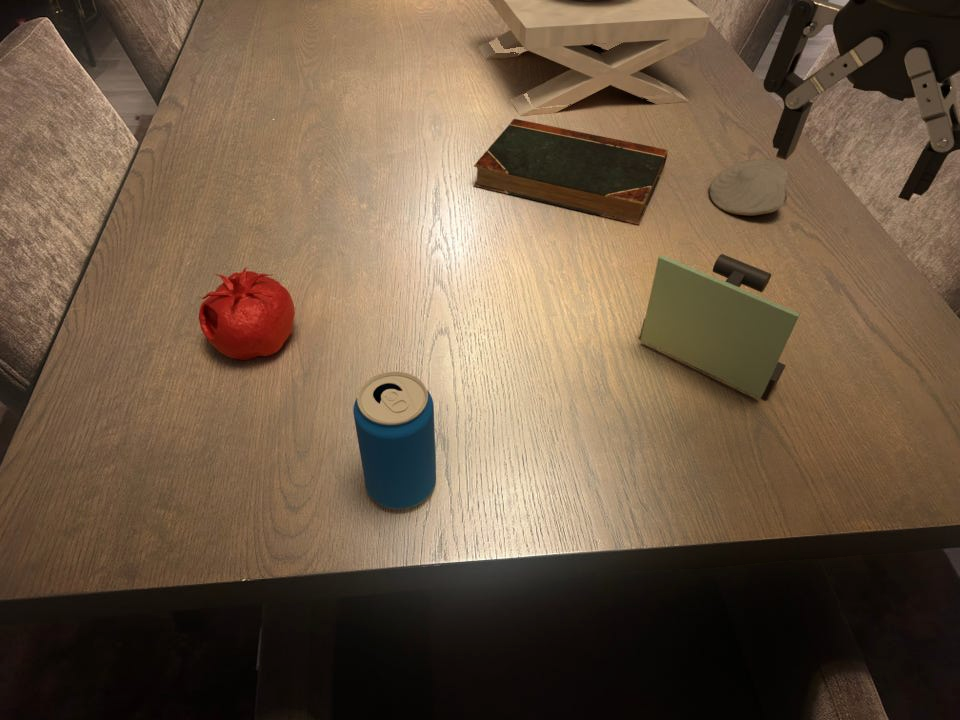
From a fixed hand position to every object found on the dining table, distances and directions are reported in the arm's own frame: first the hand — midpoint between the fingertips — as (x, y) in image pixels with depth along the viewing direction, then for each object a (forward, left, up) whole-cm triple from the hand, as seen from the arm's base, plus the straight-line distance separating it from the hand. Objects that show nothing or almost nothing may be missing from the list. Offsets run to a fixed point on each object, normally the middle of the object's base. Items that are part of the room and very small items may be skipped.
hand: (843, 174), depth 48 cm
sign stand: (+6, -7, -28) cm, 30 cm away
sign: (+6, -4, -21) cm, 23 cm away
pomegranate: (+47, +22, -28) cm, 59 cm away
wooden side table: (+60, -66, -28) cm, 93 cm away
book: (+39, -31, -28) cm, 57 cm away
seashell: (+16, -42, -28) cm, 53 cm away
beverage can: (+21, +26, -28) cm, 44 cm away
